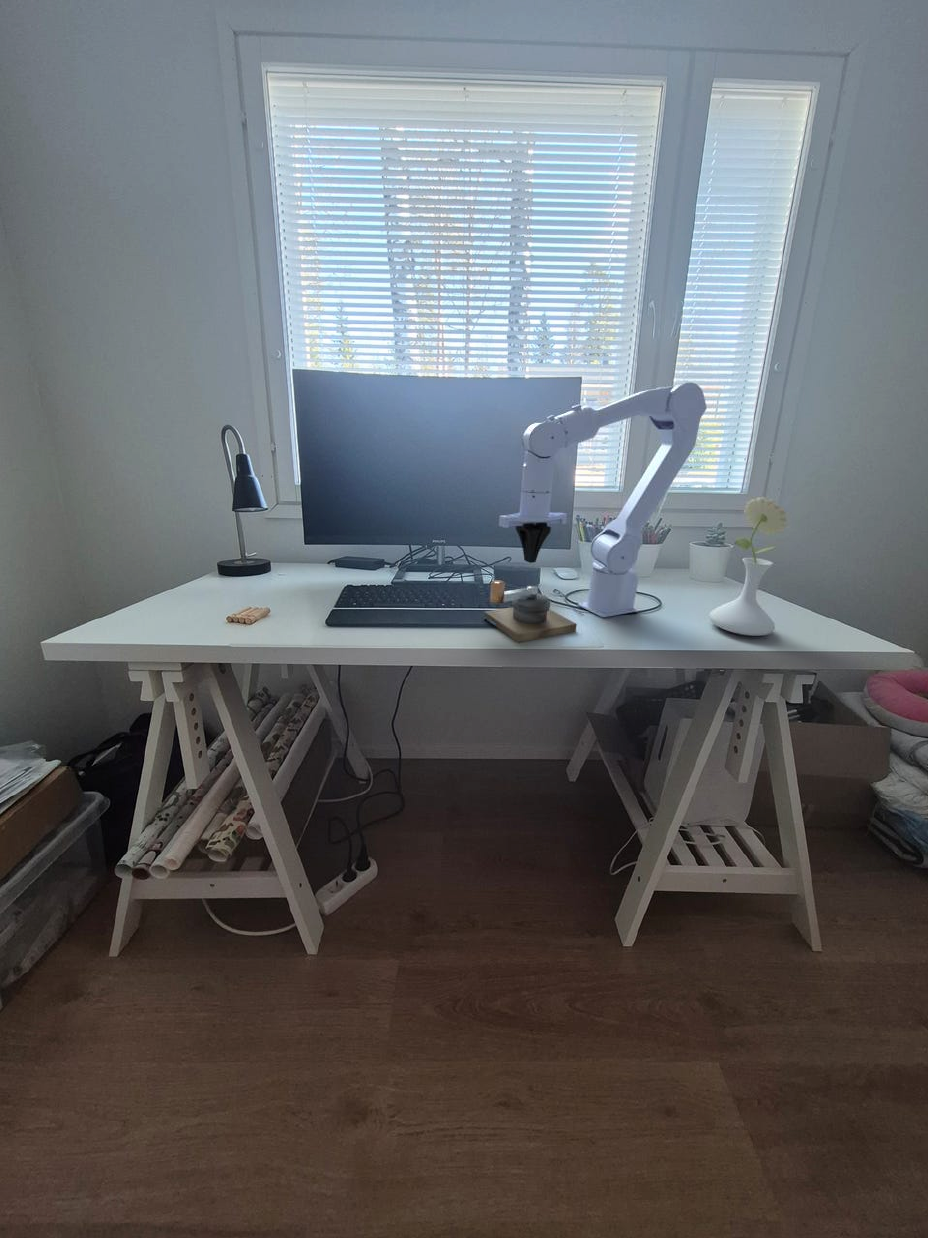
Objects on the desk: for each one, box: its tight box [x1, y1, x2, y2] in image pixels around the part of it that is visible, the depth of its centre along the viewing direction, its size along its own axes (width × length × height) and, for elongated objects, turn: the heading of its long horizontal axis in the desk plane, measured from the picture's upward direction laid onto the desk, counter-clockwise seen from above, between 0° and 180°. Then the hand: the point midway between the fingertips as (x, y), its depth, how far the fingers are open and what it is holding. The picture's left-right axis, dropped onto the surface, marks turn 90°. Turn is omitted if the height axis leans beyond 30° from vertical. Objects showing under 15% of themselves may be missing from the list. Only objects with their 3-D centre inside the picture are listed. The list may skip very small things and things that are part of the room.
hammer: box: [489, 579, 539, 605], centre depth 85 cm, size 10×2×4 cm, turn 122°
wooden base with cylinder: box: [483, 592, 578, 643], centre depth 89 cm, size 13×12×6 cm
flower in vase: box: [708, 496, 788, 637], centre depth 88 cm, size 13×11×25 cm
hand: (529, 561), depth 94 cm, fingers closed
